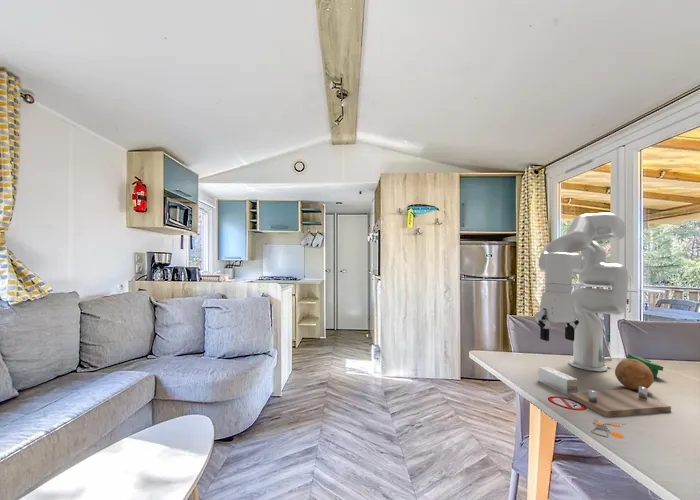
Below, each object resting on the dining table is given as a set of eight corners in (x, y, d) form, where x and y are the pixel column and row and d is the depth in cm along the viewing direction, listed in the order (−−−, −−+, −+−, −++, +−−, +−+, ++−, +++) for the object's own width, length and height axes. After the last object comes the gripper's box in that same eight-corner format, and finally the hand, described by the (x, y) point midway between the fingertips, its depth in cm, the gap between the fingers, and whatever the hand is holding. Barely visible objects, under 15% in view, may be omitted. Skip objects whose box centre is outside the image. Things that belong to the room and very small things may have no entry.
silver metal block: (548, 380, 116) (548, 366, 116) (577, 395, 104) (577, 379, 104) (538, 381, 115) (538, 367, 115) (566, 395, 104) (567, 379, 104)
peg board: (628, 393, 106) (628, 379, 106) (670, 411, 94) (670, 395, 94) (569, 397, 101) (569, 383, 102) (606, 416, 90) (606, 400, 90)
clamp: (654, 389, 121) (668, 371, 117) (636, 383, 122) (649, 365, 119) (638, 367, 132) (650, 350, 128) (622, 362, 133) (633, 345, 129)
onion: (661, 394, 106) (661, 363, 106) (638, 396, 104) (638, 364, 104) (629, 382, 116) (629, 354, 116) (607, 384, 113) (607, 355, 113)
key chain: (623, 444, 77) (623, 441, 77) (585, 432, 82) (586, 428, 82) (630, 426, 86) (630, 423, 86) (595, 415, 91) (595, 412, 91)
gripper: (570, 288, 116) (569, 337, 115) (527, 287, 112) (526, 337, 112) (589, 290, 108) (589, 342, 108) (544, 289, 105) (543, 343, 105)
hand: (557, 340), depth 110 cm, fingers open, 9 cm apart
